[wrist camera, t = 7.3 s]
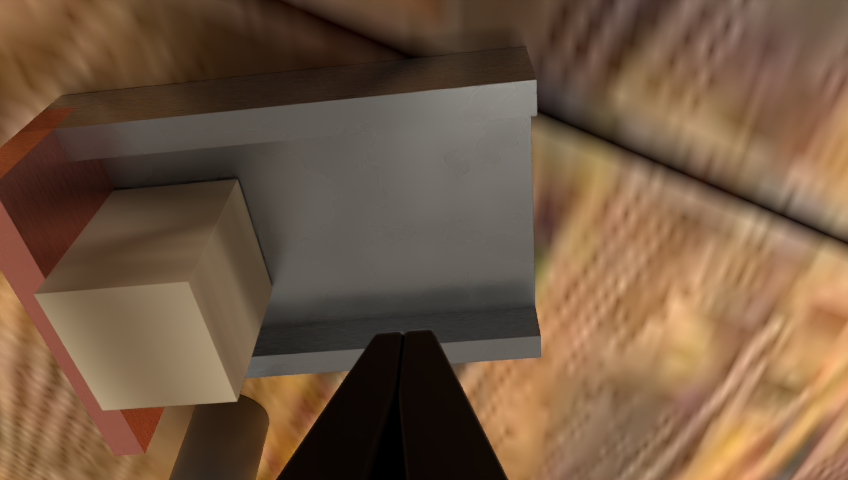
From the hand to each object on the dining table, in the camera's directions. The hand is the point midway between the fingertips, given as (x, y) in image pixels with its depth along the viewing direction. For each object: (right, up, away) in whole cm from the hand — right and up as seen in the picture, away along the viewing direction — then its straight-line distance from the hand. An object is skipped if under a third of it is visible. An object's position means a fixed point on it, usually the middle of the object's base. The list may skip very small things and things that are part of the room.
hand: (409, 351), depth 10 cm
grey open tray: (-3, +3, +13) cm, 13 cm away
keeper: (-7, +2, +12) cm, 14 cm away
